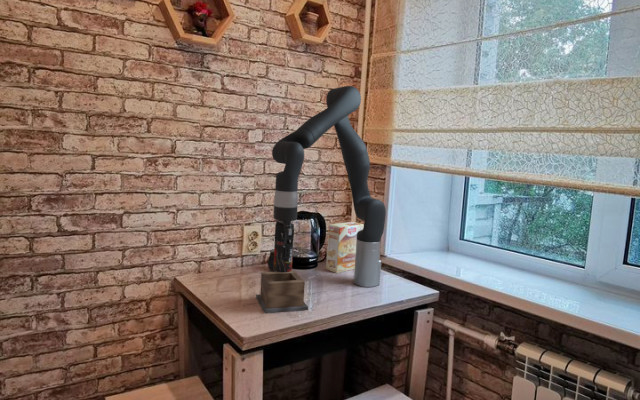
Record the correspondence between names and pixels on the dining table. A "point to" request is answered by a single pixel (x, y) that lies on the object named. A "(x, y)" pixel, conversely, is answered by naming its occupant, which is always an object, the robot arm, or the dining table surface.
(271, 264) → the mate gourd
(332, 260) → the coffeecake box
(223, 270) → the dining table surface
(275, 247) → the deodorant
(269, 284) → the sleeve holder
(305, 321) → the dining table surface
